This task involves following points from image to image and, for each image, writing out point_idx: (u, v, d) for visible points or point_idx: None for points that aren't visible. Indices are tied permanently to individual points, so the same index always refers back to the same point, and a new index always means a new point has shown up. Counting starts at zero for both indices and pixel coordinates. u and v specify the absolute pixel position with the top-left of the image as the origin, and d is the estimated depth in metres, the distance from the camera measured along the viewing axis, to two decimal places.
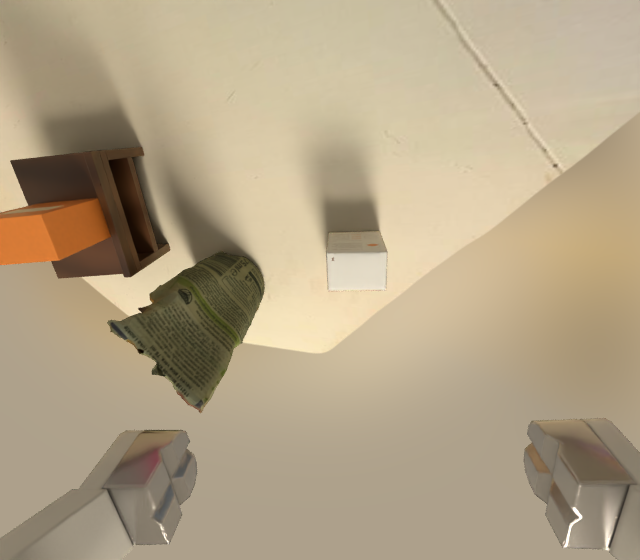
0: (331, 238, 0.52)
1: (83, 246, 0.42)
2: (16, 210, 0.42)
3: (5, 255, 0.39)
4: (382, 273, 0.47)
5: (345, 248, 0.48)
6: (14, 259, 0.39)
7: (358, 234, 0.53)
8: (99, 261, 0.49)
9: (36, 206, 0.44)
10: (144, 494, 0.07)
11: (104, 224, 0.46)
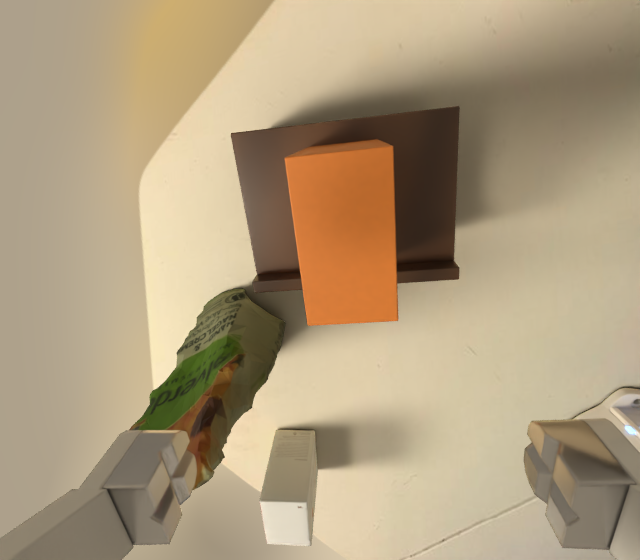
0: (312, 456, 0.46)
1: None
2: None
3: (313, 220, 0.18)
4: (286, 542, 0.43)
5: (310, 502, 0.43)
6: (304, 238, 0.18)
7: (315, 465, 0.49)
8: (273, 227, 0.28)
9: None
10: (144, 494, 0.07)
11: None
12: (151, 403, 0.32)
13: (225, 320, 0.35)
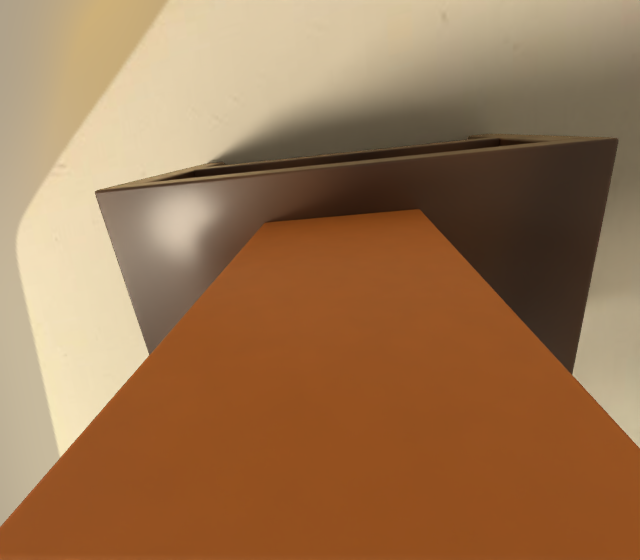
0: None
1: None
2: None
3: None
4: None
5: None
6: None
7: None
8: None
9: None
10: None
11: None
12: None
13: None
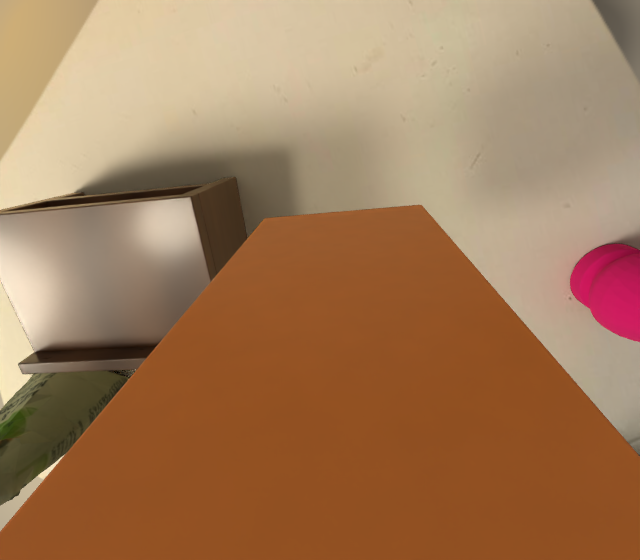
0: None
1: None
2: None
3: None
4: None
5: None
6: None
7: None
8: (38, 307, 0.27)
9: None
10: None
11: None
12: None
13: (34, 388, 0.34)
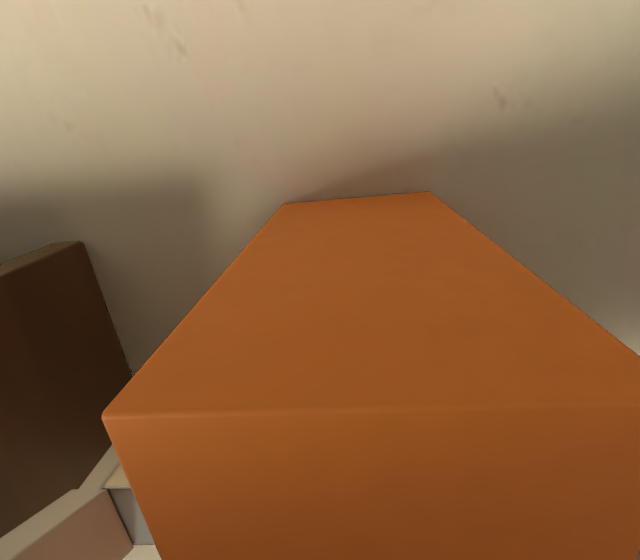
0: None
1: None
2: None
3: None
4: None
5: None
6: None
7: None
8: None
9: None
10: None
11: None
12: None
13: None
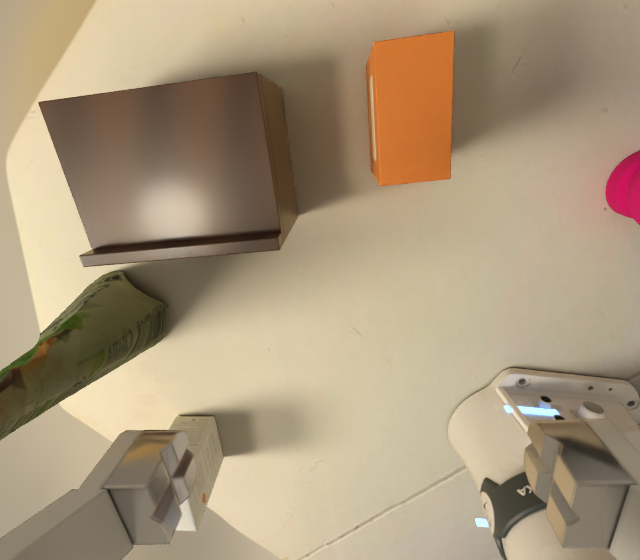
0: (205, 441, 0.46)
1: None
2: None
3: (391, 93, 0.24)
4: None
5: (194, 486, 0.42)
6: (383, 109, 0.24)
7: (215, 452, 0.49)
8: (99, 199, 0.28)
9: None
10: (144, 494, 0.07)
11: None
12: None
13: (83, 300, 0.35)
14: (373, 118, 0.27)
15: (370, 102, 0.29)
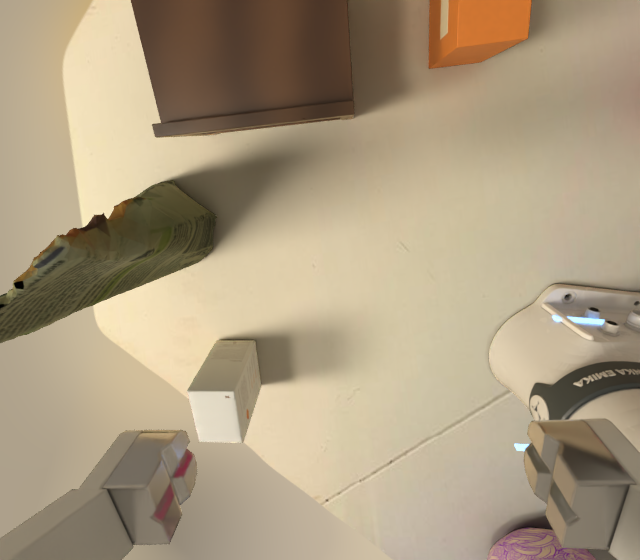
0: (249, 359, 0.46)
1: (448, 57, 0.30)
2: None
3: None
4: (217, 439, 0.43)
5: (241, 397, 0.42)
6: None
7: (255, 375, 0.49)
8: (173, 68, 0.28)
9: None
10: (144, 494, 0.07)
11: (450, 64, 0.34)
12: None
13: None
14: None
15: None
